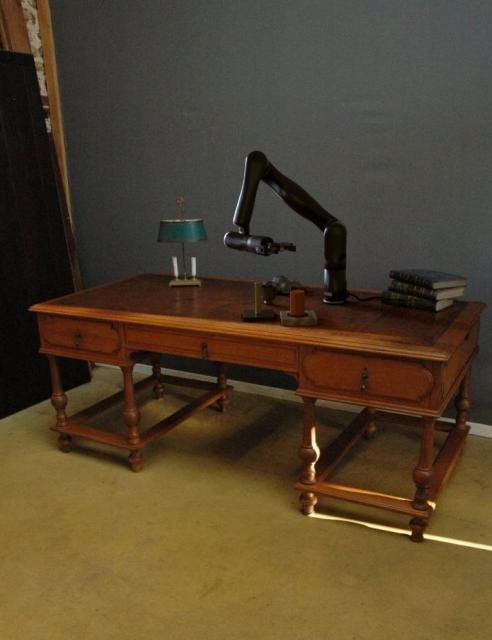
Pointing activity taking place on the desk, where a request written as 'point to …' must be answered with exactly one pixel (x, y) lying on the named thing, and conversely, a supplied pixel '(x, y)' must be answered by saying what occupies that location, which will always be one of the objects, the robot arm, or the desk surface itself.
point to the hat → (297, 304)
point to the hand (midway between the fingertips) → (286, 250)
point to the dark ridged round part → (268, 293)
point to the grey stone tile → (298, 319)
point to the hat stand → (258, 309)
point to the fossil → (284, 284)
